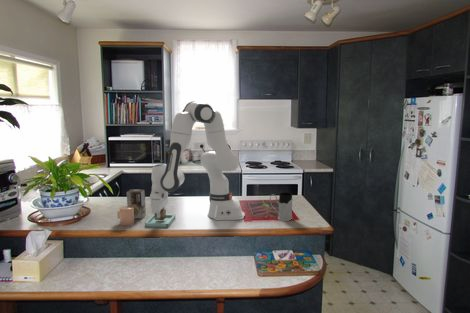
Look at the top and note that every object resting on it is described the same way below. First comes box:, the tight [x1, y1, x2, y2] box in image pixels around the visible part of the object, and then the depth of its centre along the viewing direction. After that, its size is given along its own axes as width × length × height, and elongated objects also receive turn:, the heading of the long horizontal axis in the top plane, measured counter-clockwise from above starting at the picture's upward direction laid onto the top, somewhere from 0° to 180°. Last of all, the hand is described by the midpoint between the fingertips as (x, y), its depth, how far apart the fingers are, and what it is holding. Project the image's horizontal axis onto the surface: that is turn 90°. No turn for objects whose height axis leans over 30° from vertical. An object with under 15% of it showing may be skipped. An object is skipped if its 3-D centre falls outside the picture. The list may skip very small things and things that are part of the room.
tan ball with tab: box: [116, 205, 135, 227], centre depth 184 cm, size 9×8×9 cm
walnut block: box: [154, 208, 167, 220], centre depth 186 cm, size 5×5×5 cm
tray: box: [144, 213, 176, 228], centre depth 187 cm, size 13×16×2 cm
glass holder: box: [269, 192, 293, 222], centre depth 195 cm, size 9×14×15 cm, turn 64°
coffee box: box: [126, 188, 147, 219], centre depth 195 cm, size 9×6×16 cm
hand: (160, 215), depth 186 cm, fingers closed on walnut block, 5 cm apart
